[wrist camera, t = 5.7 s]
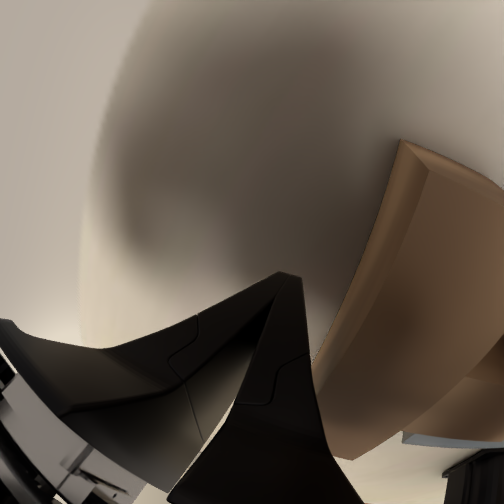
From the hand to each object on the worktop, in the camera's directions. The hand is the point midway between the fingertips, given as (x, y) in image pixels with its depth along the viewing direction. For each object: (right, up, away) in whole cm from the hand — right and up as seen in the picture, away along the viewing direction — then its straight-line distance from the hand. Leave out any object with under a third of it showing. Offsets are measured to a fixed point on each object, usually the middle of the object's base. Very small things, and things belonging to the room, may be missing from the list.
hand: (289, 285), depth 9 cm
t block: (+6, -1, -1) cm, 6 cm away
